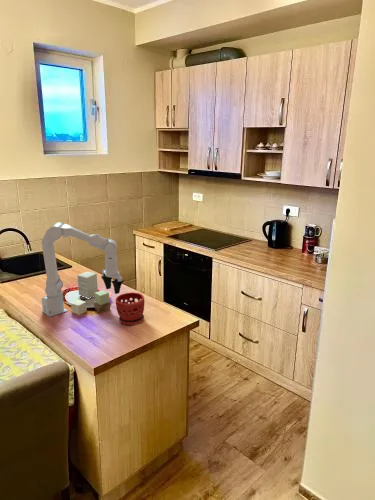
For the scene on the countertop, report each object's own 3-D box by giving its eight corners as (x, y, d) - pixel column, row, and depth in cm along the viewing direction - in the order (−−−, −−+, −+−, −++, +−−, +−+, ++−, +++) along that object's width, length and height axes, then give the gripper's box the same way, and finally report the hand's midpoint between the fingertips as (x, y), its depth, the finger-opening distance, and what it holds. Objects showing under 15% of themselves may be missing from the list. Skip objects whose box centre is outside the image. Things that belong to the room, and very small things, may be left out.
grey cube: (79, 315, 175) (78, 305, 174) (71, 312, 178) (71, 303, 176) (86, 311, 179) (86, 301, 178) (79, 308, 182) (78, 299, 180)
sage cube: (109, 302, 181) (108, 292, 179) (100, 305, 177) (99, 295, 176) (103, 299, 184) (103, 290, 183) (95, 301, 181) (94, 292, 179)
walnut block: (99, 313, 178) (98, 305, 177) (93, 308, 182) (93, 301, 181) (110, 309, 181) (109, 302, 180) (104, 305, 186) (104, 298, 185)
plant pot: (131, 312, 179) (131, 289, 176) (150, 320, 171) (150, 296, 168) (110, 321, 169) (109, 297, 166) (129, 330, 161) (128, 306, 158)
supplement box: (88, 292, 202) (87, 270, 198) (98, 295, 198) (97, 273, 195) (78, 296, 196) (76, 274, 192) (88, 299, 192) (86, 277, 188)
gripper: (127, 266, 172) (128, 293, 176) (110, 259, 182) (111, 284, 186) (114, 270, 167) (115, 297, 171) (97, 262, 177) (99, 288, 181)
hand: (112, 291), depth 178 cm, fingers open, 7 cm apart
